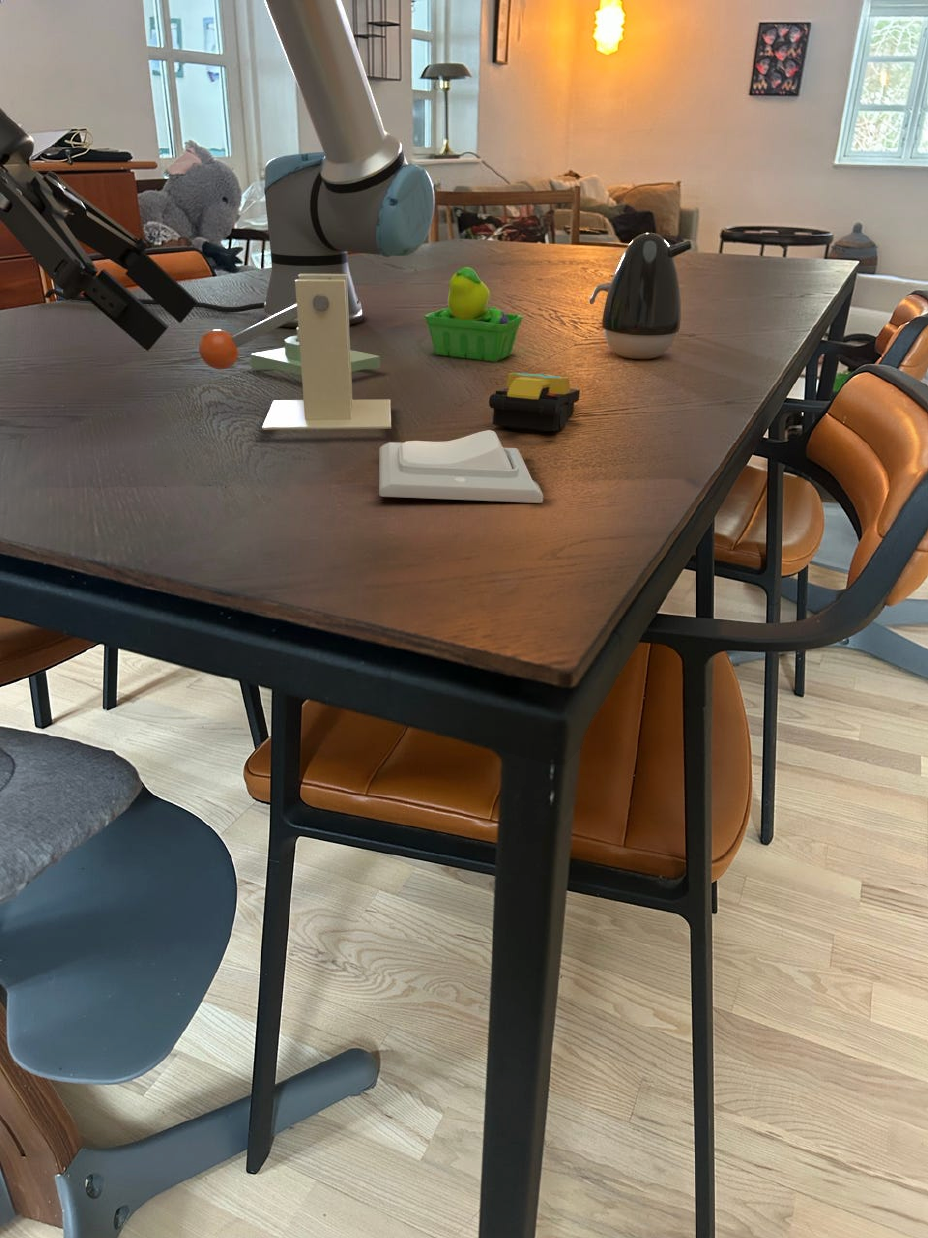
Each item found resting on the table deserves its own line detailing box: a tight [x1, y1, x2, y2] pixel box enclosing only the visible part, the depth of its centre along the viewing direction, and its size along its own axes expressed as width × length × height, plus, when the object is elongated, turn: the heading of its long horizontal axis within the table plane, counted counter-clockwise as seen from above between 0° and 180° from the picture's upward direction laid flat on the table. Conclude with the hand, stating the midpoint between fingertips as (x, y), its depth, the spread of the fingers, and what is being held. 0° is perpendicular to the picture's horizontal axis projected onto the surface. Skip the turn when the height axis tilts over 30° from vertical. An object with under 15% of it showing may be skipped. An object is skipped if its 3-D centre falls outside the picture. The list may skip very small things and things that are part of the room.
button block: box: [250, 335, 381, 377], centre depth 106 cm, size 12×10×4 cm
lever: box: [198, 278, 332, 370], centre depth 82 cm, size 14×4×4 cm, turn 95°
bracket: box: [261, 274, 392, 431], centre depth 84 cm, size 12×10×14 cm
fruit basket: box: [424, 266, 524, 363], centre depth 114 cm, size 11×9×11 cm
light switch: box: [378, 429, 544, 504], centre depth 72 cm, size 11×4×13 cm
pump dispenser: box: [601, 232, 693, 360], centre depth 115 cm, size 10×10×15 cm
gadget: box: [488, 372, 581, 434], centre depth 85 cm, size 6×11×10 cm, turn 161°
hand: (175, 325), depth 81 cm, fingers open, 13 cm apart
